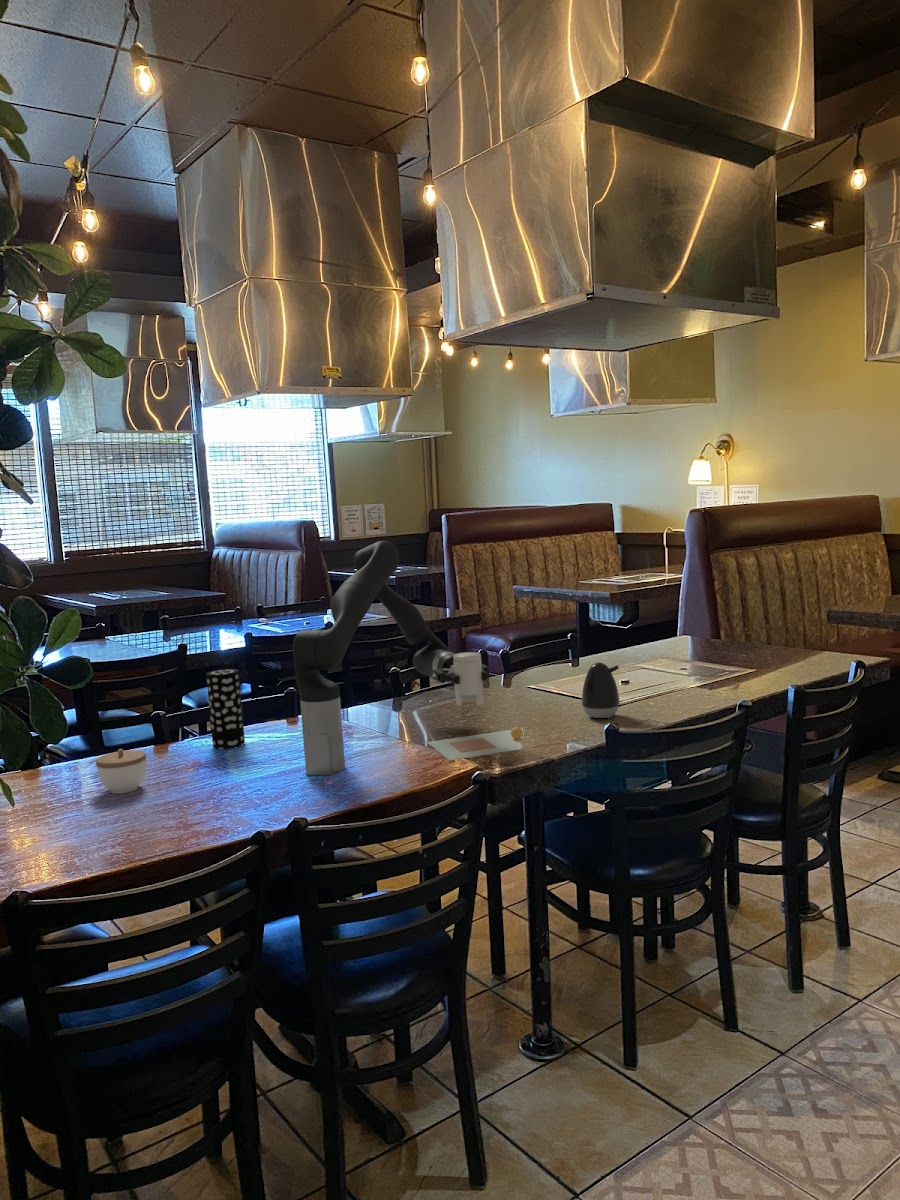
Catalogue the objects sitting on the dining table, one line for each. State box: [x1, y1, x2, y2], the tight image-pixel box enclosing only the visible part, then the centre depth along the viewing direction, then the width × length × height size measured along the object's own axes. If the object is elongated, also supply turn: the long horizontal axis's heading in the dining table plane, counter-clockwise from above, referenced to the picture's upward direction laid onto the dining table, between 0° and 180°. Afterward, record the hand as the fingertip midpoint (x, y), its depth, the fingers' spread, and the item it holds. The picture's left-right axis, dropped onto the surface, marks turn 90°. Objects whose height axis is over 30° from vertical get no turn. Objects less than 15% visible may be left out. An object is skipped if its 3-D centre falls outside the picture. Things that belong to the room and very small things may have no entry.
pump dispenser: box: [581, 662, 620, 719], centre depth 238 cm, size 10×10×15 cm
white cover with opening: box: [453, 651, 485, 707], centre depth 215 cm, size 7×7×12 cm
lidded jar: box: [95, 748, 147, 795], centre depth 199 cm, size 11×11×9 cm
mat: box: [427, 727, 527, 763], centre depth 219 cm, size 30×18×1 cm, turn 108°
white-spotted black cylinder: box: [206, 668, 246, 750], centre depth 232 cm, size 8×8×20 cm
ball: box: [510, 726, 523, 739], centre depth 220 cm, size 3×3×3 cm
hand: (471, 678), depth 213 cm, fingers closed on white cover with opening, 6 cm apart
